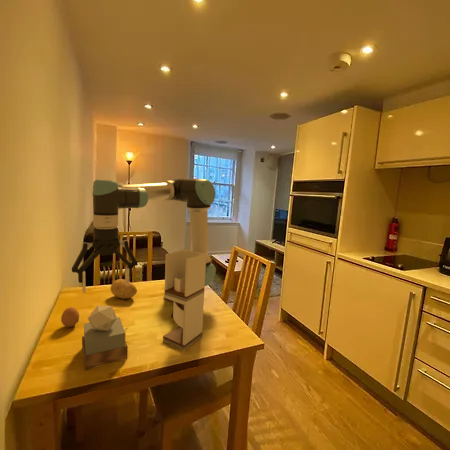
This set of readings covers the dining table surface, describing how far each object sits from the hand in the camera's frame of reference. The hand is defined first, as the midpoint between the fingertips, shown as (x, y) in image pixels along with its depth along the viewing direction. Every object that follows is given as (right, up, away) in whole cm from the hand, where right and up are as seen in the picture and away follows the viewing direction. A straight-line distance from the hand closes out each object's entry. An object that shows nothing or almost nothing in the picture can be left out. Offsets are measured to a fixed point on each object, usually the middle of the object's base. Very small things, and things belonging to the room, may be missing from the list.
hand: (106, 288), depth 90 cm
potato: (-13, -17, +50) cm, 54 cm away
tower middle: (-2, -19, +3) cm, 20 cm away
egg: (-24, -21, +20) cm, 37 cm away
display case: (+24, -24, +16) cm, 37 cm away
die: (-2, -15, +2) cm, 15 cm away
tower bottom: (-3, -24, +4) cm, 25 cm away
